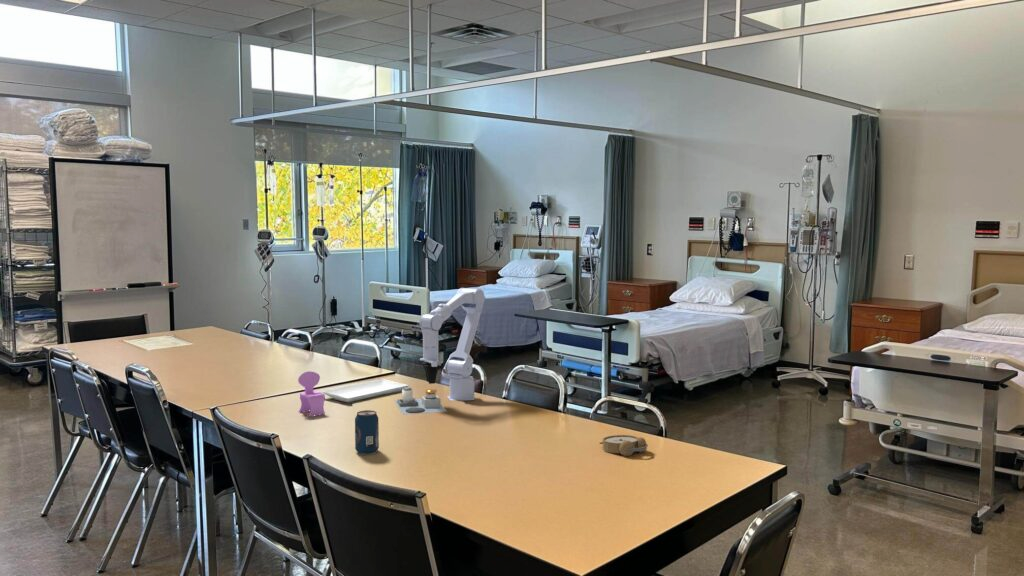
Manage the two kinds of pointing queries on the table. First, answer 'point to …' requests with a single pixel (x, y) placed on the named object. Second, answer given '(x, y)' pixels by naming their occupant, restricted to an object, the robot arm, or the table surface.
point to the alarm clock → (624, 444)
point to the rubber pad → (415, 410)
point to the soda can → (366, 432)
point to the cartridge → (407, 395)
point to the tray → (365, 390)
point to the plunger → (430, 393)
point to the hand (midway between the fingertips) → (430, 382)
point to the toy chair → (311, 394)
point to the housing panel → (422, 405)
